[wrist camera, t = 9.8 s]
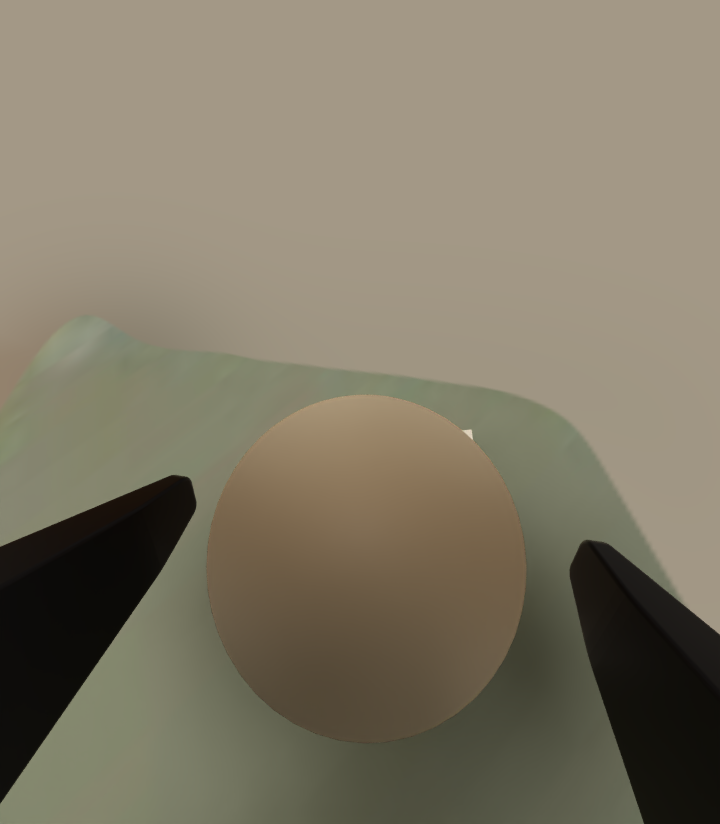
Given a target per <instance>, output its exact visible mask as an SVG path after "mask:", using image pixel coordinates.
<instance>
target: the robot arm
mask: <svg viewBox="0 0 720 824" xmlns="http://www.w3.org/2000/svg"><path fill="white" fill-rule="evenodd" d="M195 509H196V498H195V494H194V490H193V486H192V482H191V480H190V479H189V478H188V477H185V476H178V475H171V476H168V477H166V478H163V479H161V480H159V481H156V482H154V483H151V484H149V485H147V486H144V487H142V488H140V489H137V490H135V491H132V492H130V493H128V494H125V495H123V496H120V497H118V498H116V499H113V500H111V501H108V502H106V503H104V504H101V505H99V506H97V507H94V508H92V509H89V510H87V511H85V512H82V513H80V514H77V515H75V516H73V517H70V518H68V519H65V520H63V521H61V522H58V523H56V524H54V525H51V526H49V527H46V528H44V529H42V530H39V531H37V532H34V533H32V534H30V535H27V536H25V537H22V538H20V539H18V540H15V541H13V542H11V543H8V544H6V545H3V546H1V547H0V803H1V802H2V800H3V799H4V798H5V796H6V795H7V793H8V792H9V790H10V789H11V787H12V786H13V785H14V783H15V782H16V780H17V779H18V777H19V776H20V774H21V773H22V772H23V770H24V769H25V767H26V766H27V764H28V763H29V761H30V760H31V759H32V757H33V756H34V754H35V753H36V751H37V750H38V748H39V747H40V746H41V744H42V743H43V741H44V740H45V738H46V737H47V735H48V734H49V732H50V731H51V730H52V728H53V727H54V725H55V724H56V722H57V721H58V719H59V718H60V717H61V715H62V714H63V712H64V711H65V709H66V708H67V706H68V705H69V704H70V702H71V701H72V699H73V698H74V696H75V695H76V693H77V692H78V691H79V689H80V688H81V686H82V685H83V683H84V682H85V680H86V679H87V677H88V676H89V675H90V673H91V672H92V670H93V669H94V667H95V666H96V664H97V663H98V662H99V660H100V659H101V657H102V656H103V654H104V653H105V651H106V650H107V649H108V647H109V646H110V644H111V643H112V641H113V640H114V638H115V637H116V636H117V634H118V633H119V631H120V630H121V628H122V627H123V625H124V624H125V623H126V621H127V620H128V618H129V617H130V615H131V614H132V612H133V611H134V609H135V608H136V607H137V605H138V604H139V602H140V601H141V599H142V598H143V596H144V595H145V594H146V592H147V591H148V589H149V588H150V586H151V585H152V583H153V582H154V581H155V579H156V578H157V576H158V575H159V573H160V572H161V570H162V568H163V567H164V565H165V563H166V562H167V560H168V558H169V557H170V555H171V553H172V551H173V550H174V548H175V546H176V544H177V542H178V541H179V539H180V537H181V535H182V534H183V532H184V530H185V528H186V526H187V525H188V523H189V521H190V519H191V518H192V516H193V514H194V512H195ZM570 580H571V584H572V588H573V593H574V597H575V602H576V606H577V610H578V615H579V619H580V624H581V628H582V632H583V637H584V641H585V645H586V649H587V653H588V657H589V660H590V663H591V666H592V670H593V673H594V676H595V679H596V682H597V685H598V688H599V691H600V693H601V696H602V699H603V702H604V705H605V708H606V711H607V714H608V717H609V720H610V723H611V726H612V729H613V732H614V735H615V738H616V741H617V744H618V747H619V750H620V753H621V756H622V759H623V762H624V765H625V768H626V771H627V774H628V777H629V780H630V783H631V786H632V789H633V792H634V795H635V798H636V801H637V804H638V807H639V810H640V813H641V816H642V819H643V822H644V824H720V634H718V633H717V632H716V631H715V630H714V629H712V628H711V627H710V626H709V625H707V624H706V623H705V622H704V621H702V620H701V619H700V618H699V617H697V616H696V615H695V614H694V613H693V612H691V611H690V610H689V609H688V608H687V607H685V606H684V605H683V604H682V603H680V602H679V601H678V600H677V599H675V598H674V597H673V596H672V595H671V594H669V593H668V592H667V591H666V590H664V589H663V588H662V587H661V586H660V585H658V584H657V583H656V582H655V581H653V580H652V579H651V578H650V577H649V576H647V575H646V574H645V573H644V572H642V571H641V570H640V569H639V568H637V567H636V566H635V565H634V564H633V563H631V562H630V561H629V560H628V559H626V558H625V557H624V556H623V555H622V554H620V553H619V552H618V551H617V550H615V549H614V548H613V547H612V546H610V545H609V544H607V543H604V542H599V541H592V540H584V541H583V542H582V543H581V544H580V546H579V549H578V551H577V553H576V555H575V557H574V559H573V561H572V563H571V566H570Z"/></svg>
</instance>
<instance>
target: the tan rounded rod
mask: <svg viewBox="0 0 720 824" xmlns="http://www.w3.org/2000/svg"><path fill="white" fill-rule="evenodd" d="M207 585H208V593H209V599H210V604H211V610H212V614H213V617H214V620H215V624H216V627H217V630H218V633H219V636H220V638H221V640H222V642H223V645H224V647H225V649H226V651H227V654H228V655H229V657H230V659H231V660H232V662H233V664H234V665H235V667H236V668H237V670H238V672H239V673H240V675H241V676H242V677H243V679H244V680H245V681H246V682H247V683H248V685H249V686H250V687H251V688H252V690H253V691H254V692H255V693H256V694H257V695H258V696H259V697H260V698H261V699H262V700H263V701H264V702H266V703H267V704H268V705H269V706H270V707H271V708H272V709H273V710H275V711H276V712H278V713H279V714H281V715H282V716H284V717H285V718H286V719H288V720H289V721H291V722H292V723H294V724H296V725H298V726H300V727H303V728H305V729H307V730H309V731H311V732H313V733H315V734H319V735H322V736H326V737H329V738H333V739H336V740H340V741H349V742H357V743H377V742H390V741H394V740H399V739H404V738H408V737H412V736H415V735H417V734H420V733H422V732H425V731H427V730H430V729H432V728H435V727H436V726H438V725H440V724H441V723H443V722H444V721H446V720H448V719H449V718H451V717H453V716H454V715H456V714H457V713H458V712H460V711H461V710H462V709H463V708H464V707H465V706H467V705H468V704H469V703H470V702H471V701H472V700H474V699H475V698H476V697H477V695H478V694H479V693H480V692H481V691H482V690H483V689H484V687H485V686H486V685H487V684H488V683H489V682H490V680H491V679H492V678H493V676H494V674H495V673H496V671H497V670H498V668H499V667H500V665H501V663H502V662H503V660H504V659H505V657H506V655H507V652H508V650H509V648H510V646H511V643H512V641H513V639H514V637H515V634H516V631H517V627H518V624H519V620H520V617H521V614H522V609H523V602H524V596H525V589H526V554H525V545H524V537H523V533H522V529H521V525H520V520H519V516H518V513H517V511H516V508H515V505H514V502H513V500H512V497H511V495H510V493H509V491H508V489H507V487H506V485H505V483H504V481H503V479H502V477H501V475H500V474H499V472H498V471H497V469H496V468H495V466H494V465H493V463H492V462H491V460H490V459H489V458H488V456H487V455H486V454H485V453H484V452H483V451H482V449H481V448H480V447H479V446H478V445H477V444H476V443H475V442H474V441H473V440H472V439H471V438H470V437H469V436H468V435H467V434H466V433H464V432H463V431H462V430H461V429H460V428H458V427H457V426H456V425H454V424H453V423H451V422H450V421H449V420H447V419H446V418H444V417H442V416H441V415H439V414H437V413H435V412H433V411H431V410H429V409H427V408H425V407H422V406H420V405H417V404H415V403H412V402H409V401H405V400H401V399H397V398H394V397H387V396H379V395H351V396H343V397H337V398H333V399H328V400H324V401H321V402H318V403H315V404H313V405H310V406H307V407H305V408H303V409H301V410H299V411H297V412H295V413H293V414H291V415H289V416H288V417H286V418H285V419H283V420H282V421H280V422H279V423H277V424H276V425H274V426H273V427H272V428H271V429H270V430H268V431H267V432H266V433H265V434H264V435H263V436H261V437H260V438H259V439H258V440H257V441H256V443H255V444H254V445H253V446H252V447H251V448H250V449H249V450H248V451H247V452H246V454H245V455H244V456H243V458H242V459H241V461H240V462H239V463H238V465H237V466H236V467H235V469H234V471H233V473H232V474H231V476H230V478H229V480H228V481H227V483H226V485H225V487H224V490H223V492H222V494H221V497H220V499H219V501H218V504H217V507H216V510H215V514H214V517H213V521H212V524H211V530H210V535H209V541H208V550H207Z"/></svg>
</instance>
